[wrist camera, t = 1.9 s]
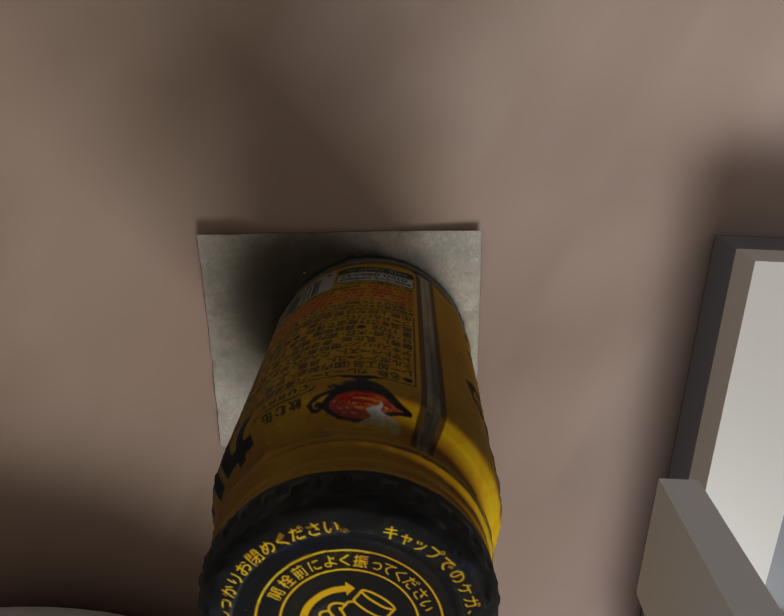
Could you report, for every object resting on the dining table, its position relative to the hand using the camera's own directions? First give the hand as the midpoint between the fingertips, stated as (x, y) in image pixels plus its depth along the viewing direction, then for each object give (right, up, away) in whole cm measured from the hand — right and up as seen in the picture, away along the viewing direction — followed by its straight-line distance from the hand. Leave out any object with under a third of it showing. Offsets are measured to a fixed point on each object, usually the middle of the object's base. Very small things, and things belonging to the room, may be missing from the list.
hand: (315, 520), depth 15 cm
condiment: (0, +3, +9) cm, 10 cm away
